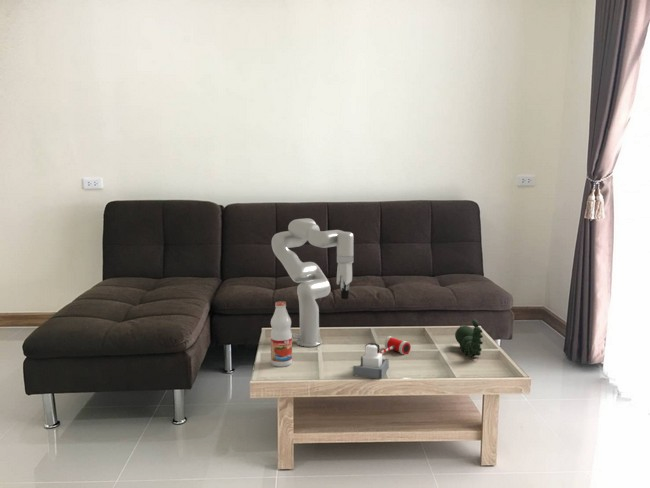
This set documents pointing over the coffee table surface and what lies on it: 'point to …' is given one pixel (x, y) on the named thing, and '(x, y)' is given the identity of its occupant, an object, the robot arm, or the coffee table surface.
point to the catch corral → (371, 370)
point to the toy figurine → (469, 338)
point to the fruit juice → (281, 336)
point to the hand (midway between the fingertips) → (345, 298)
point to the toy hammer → (396, 345)
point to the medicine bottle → (372, 356)
